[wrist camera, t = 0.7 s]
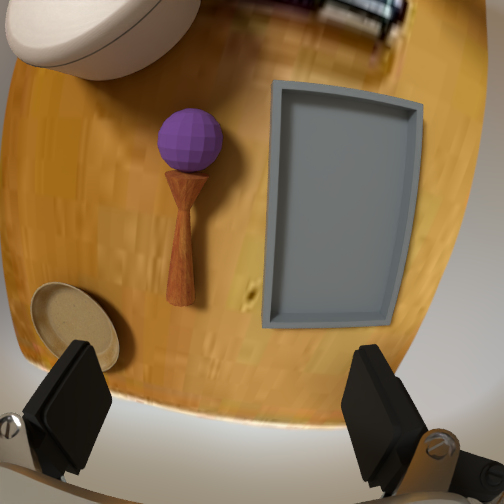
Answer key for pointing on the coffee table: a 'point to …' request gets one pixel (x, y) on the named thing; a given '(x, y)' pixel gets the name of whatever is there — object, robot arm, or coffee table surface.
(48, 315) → the plant saucer
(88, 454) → the robot arm
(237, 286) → the coffee table surface
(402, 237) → the tray
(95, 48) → the container
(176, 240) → the kendama
